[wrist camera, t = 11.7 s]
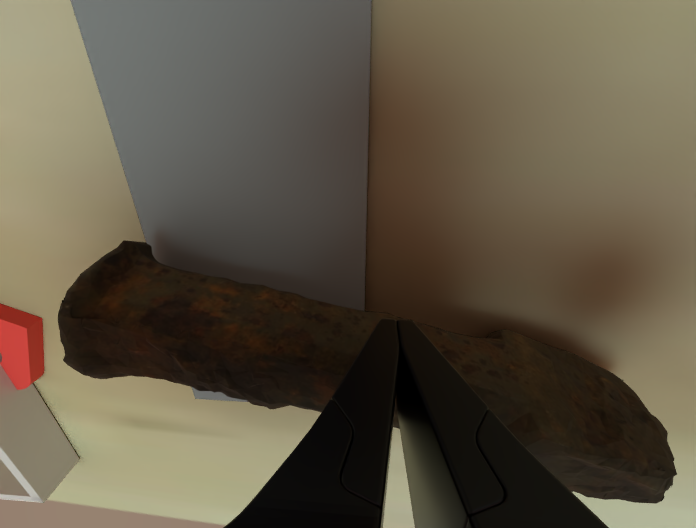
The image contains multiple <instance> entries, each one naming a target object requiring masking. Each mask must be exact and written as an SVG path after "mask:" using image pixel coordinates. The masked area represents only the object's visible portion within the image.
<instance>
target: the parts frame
mask: <svg viewBox="0 0 696 528" xmlns="http://www.w3.org/2000/svg"><path fill="white" fill-rule="evenodd" d="M1 361H2V355H1V353H0V362H1ZM78 461H79V457H78V456H77V454H76V453H75V451H74V449H73V448H72V446H71V444H70V443H69V441H68V440H67V438H66V436H65V435H64V433H63V432H62V430H61V428H60V427H59V425H58V424H57V422H56V420H55V419H54V417H53V415H52V414H51V412H50V411H49V409H48V407H47V406H46V404H45V403H44V401H43V399H42V398H41V396H40V395H39V393H38V391H37V390H36V388H35V387H34V385H33V383H32V384H31V385H30V386H29V387H27V388H25V389H22V390H17V389H16V387H15V386H14V384H13V383H12V381H11V380H10V378H9V377H8V375H7V374H6V372H5V371H4V369H3V368H2V366H1V365H0V499H5V500H17V501H30V502H41V503H44V502H45V501H46V500H47V498H48V497H49V496H50V495H51V494H52V492H53V491H54V490H55V489H56V488H57V486H58V485H59V484H60V483H61V481H62V480H63V479H64V478H65V477H66V475H67V474H68V473H69V472H70V470H71V469H72V468H73V467H74V466H75V464H76V463H77V462H78Z"/></svg>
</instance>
